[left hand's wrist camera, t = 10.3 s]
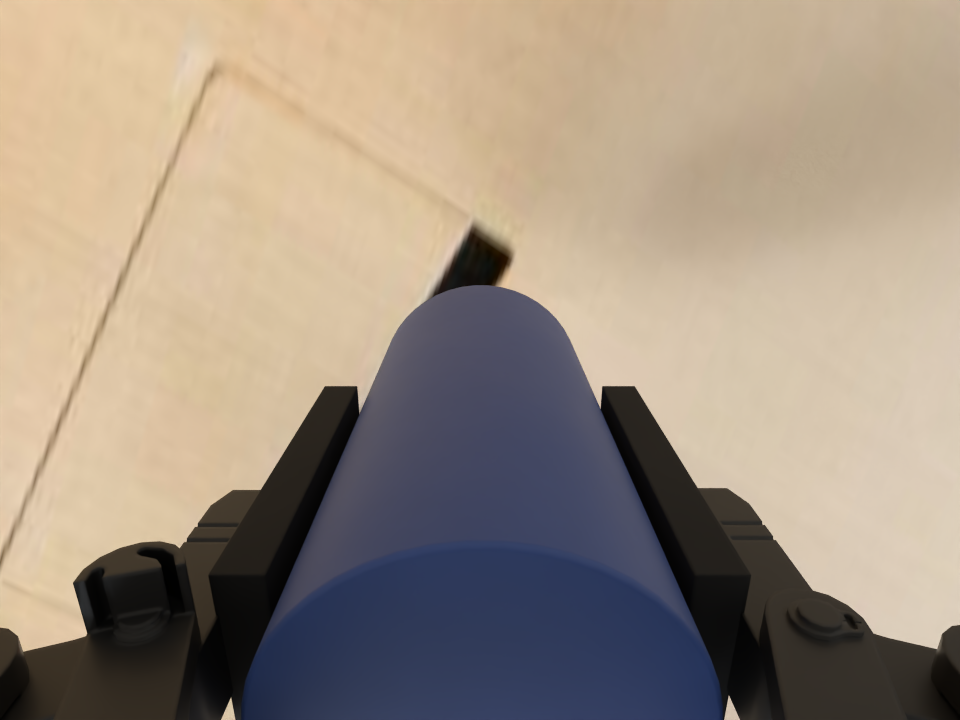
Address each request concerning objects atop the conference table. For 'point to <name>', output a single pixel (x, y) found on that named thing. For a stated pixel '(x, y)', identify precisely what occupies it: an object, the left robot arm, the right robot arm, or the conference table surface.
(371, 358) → the conference table surface
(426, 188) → the conference table surface
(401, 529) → the canister
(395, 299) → the conference table surface
